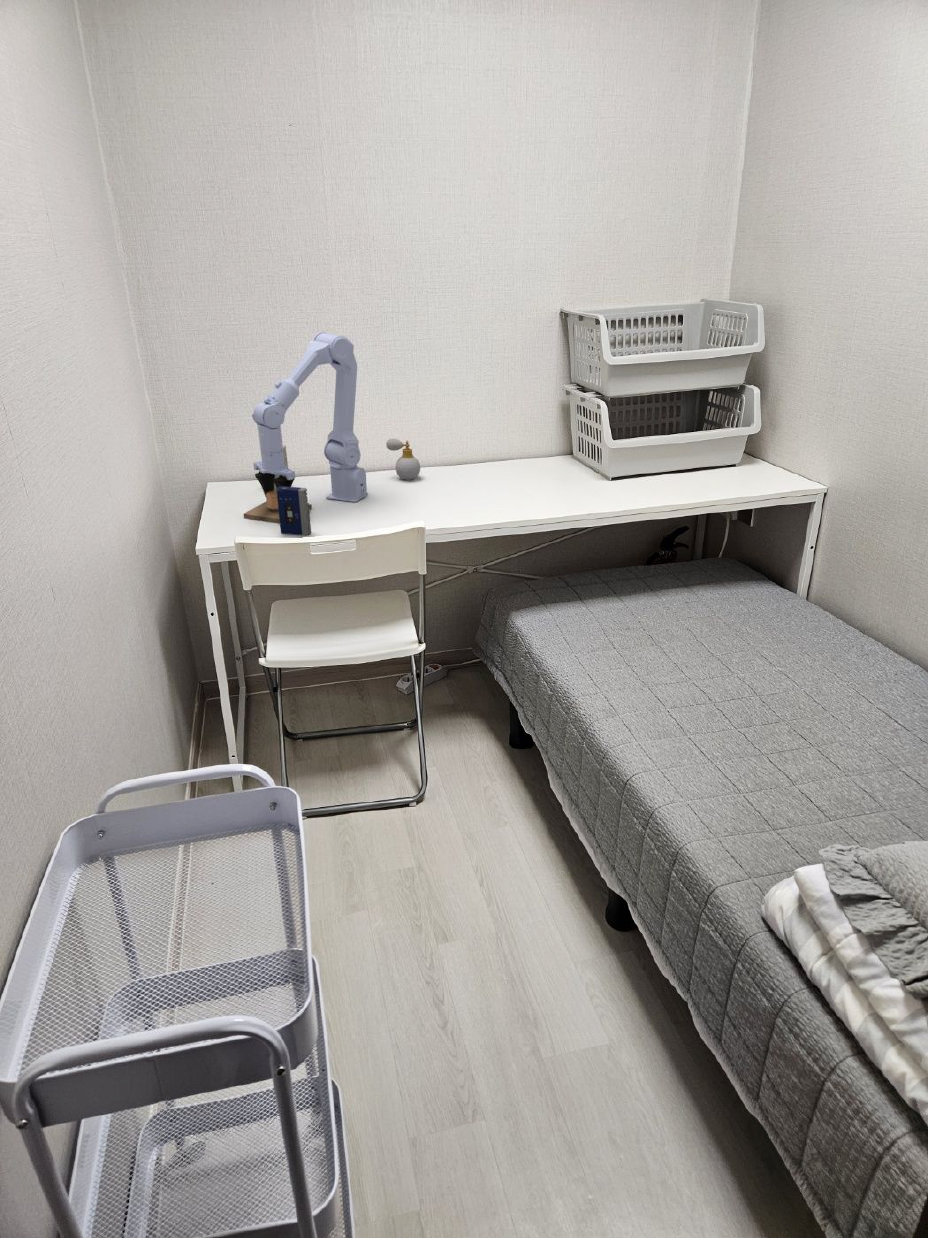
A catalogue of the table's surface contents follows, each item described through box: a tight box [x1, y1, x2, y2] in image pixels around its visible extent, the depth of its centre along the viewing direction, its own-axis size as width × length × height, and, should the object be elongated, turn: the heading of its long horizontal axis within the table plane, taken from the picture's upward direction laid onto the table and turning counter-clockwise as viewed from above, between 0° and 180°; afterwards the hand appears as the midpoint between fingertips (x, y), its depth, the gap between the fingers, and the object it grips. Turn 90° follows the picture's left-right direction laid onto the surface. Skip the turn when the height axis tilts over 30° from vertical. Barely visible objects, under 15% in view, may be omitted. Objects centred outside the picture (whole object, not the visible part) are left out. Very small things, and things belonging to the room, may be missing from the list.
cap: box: [265, 490, 278, 509], centre depth 220 cm, size 5×5×4 cm
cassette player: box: [276, 486, 312, 536], centre depth 206 cm, size 7×2×12 cm, turn 78°
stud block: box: [243, 500, 313, 524], centre depth 221 cm, size 13×13×5 cm
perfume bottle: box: [385, 438, 421, 481], centre depth 247 cm, size 8×10×12 cm
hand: (277, 500), depth 220 cm, fingers closed on cap, 5 cm apart
